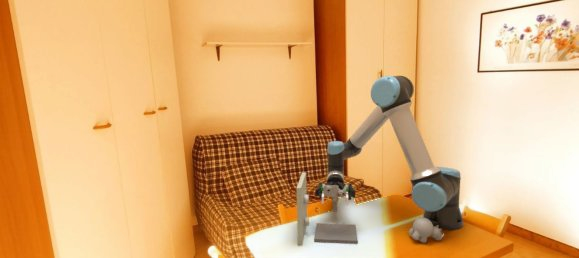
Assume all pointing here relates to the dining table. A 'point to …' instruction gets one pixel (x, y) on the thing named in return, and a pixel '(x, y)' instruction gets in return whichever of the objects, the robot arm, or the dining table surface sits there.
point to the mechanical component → (333, 193)
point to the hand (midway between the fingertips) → (334, 200)
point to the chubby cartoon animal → (425, 230)
